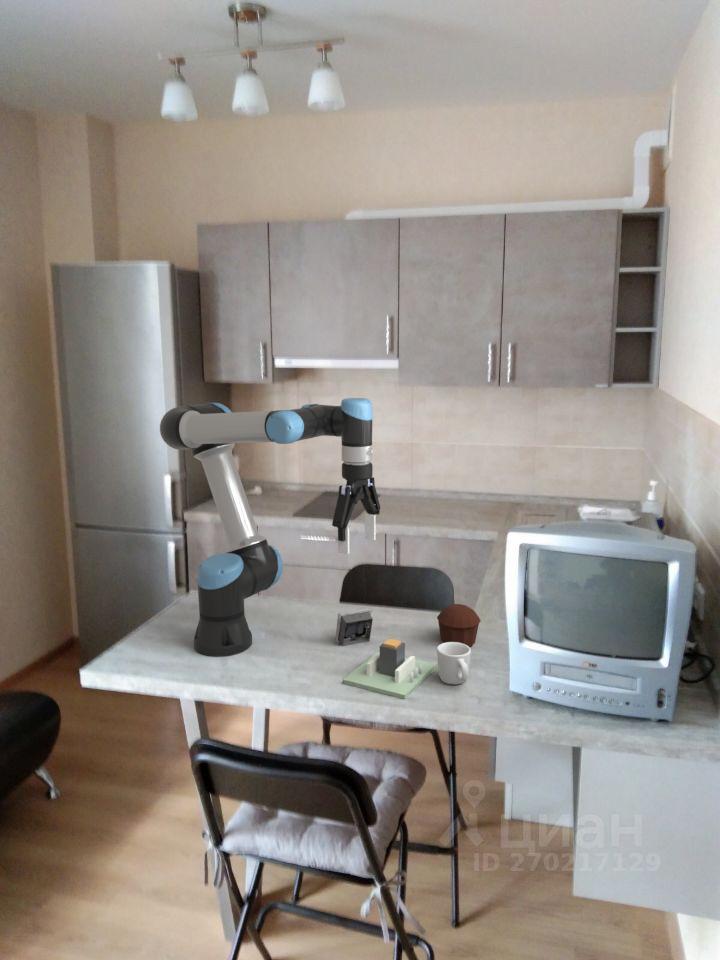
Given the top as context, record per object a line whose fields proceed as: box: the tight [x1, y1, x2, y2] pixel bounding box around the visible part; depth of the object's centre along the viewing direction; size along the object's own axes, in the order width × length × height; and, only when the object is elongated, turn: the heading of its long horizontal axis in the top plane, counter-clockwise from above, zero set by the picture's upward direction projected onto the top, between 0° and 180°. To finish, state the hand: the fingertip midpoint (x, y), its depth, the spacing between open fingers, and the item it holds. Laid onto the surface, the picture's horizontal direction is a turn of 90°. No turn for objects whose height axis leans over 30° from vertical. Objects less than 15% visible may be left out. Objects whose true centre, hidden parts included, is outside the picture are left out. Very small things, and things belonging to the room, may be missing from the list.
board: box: [343, 650, 438, 700], centre depth 180 cm, size 16×18×4 cm
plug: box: [379, 638, 406, 677], centre depth 180 cm, size 4×4×8 cm
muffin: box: [436, 603, 482, 648], centre depth 199 cm, size 12×11×10 cm
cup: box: [436, 642, 472, 685], centre depth 176 cm, size 11×8×8 cm
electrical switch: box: [334, 607, 374, 647], centre depth 199 cm, size 9×5×9 cm, turn 113°
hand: (357, 546), depth 187 cm, fingers open, 13 cm apart
